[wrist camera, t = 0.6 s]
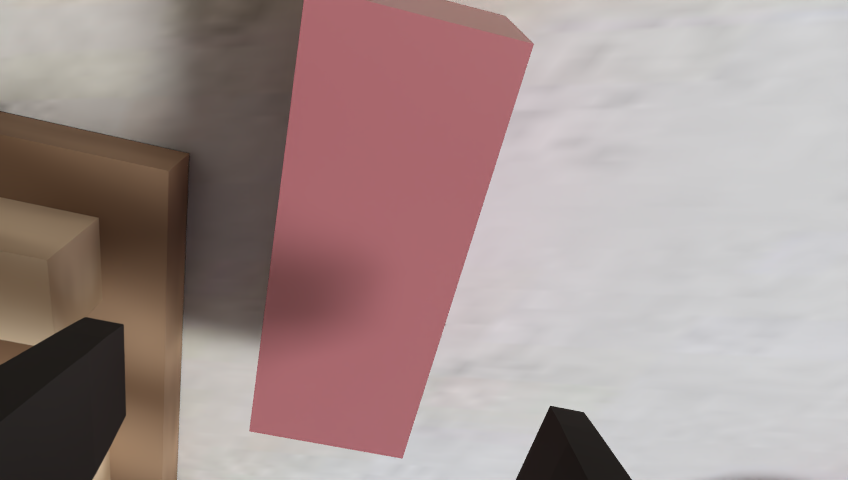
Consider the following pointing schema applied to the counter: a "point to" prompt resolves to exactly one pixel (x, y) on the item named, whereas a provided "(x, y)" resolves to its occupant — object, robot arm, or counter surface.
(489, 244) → the counter surface
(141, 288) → the stand
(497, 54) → the pink rectangular block
